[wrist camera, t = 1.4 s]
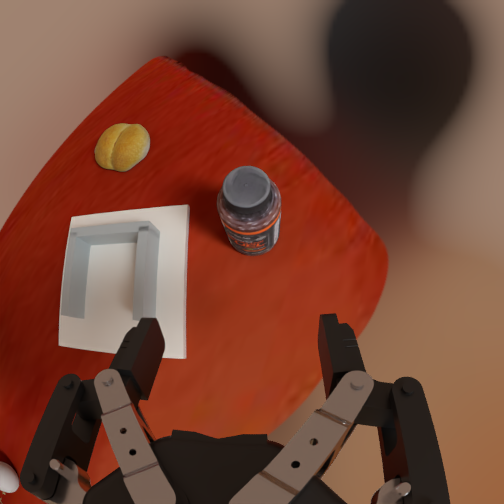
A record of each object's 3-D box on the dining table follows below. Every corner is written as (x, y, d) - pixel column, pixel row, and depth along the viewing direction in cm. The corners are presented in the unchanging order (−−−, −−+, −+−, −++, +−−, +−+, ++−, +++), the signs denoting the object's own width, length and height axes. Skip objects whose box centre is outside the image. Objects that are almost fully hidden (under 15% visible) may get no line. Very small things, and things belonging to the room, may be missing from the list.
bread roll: (138, 177, 39) (126, 162, 35) (94, 169, 40) (81, 155, 36) (162, 131, 41) (153, 115, 37) (117, 127, 42) (108, 113, 38)
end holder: (186, 358, 31) (173, 360, 27) (63, 345, 32) (41, 344, 28) (189, 208, 36) (179, 191, 32) (75, 219, 37) (57, 207, 33)
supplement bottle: (226, 256, 34) (204, 217, 23) (230, 209, 36) (213, 155, 25) (279, 258, 33) (281, 219, 23) (280, 210, 35) (282, 155, 24)
